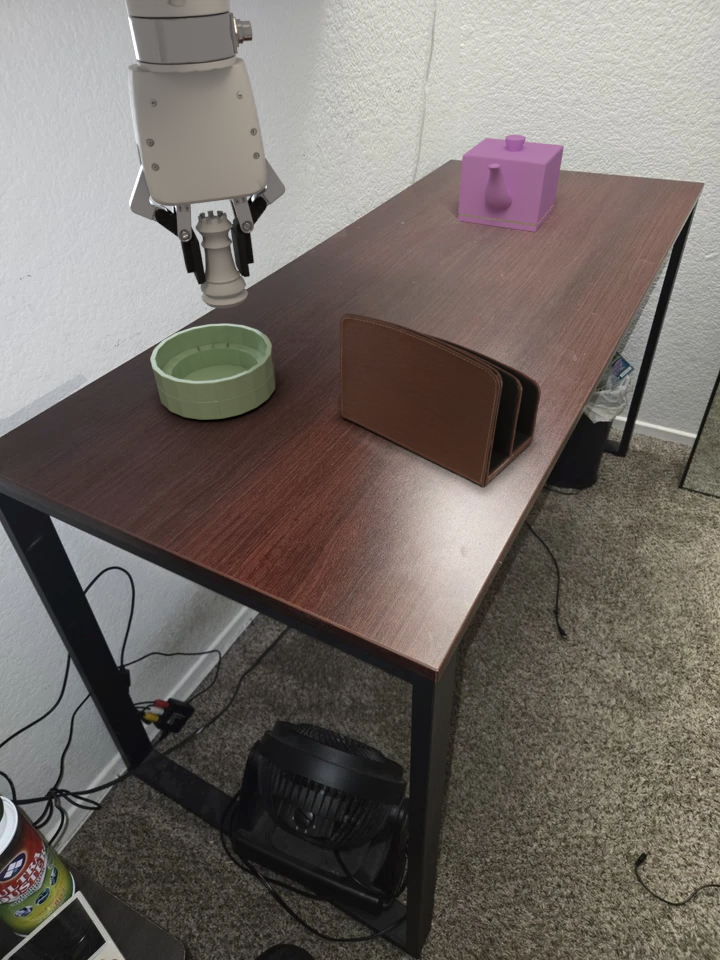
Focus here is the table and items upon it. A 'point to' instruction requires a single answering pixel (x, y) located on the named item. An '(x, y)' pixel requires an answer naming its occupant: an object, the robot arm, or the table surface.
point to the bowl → (214, 371)
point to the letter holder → (435, 397)
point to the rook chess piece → (219, 263)
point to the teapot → (509, 182)
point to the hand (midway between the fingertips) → (221, 273)
